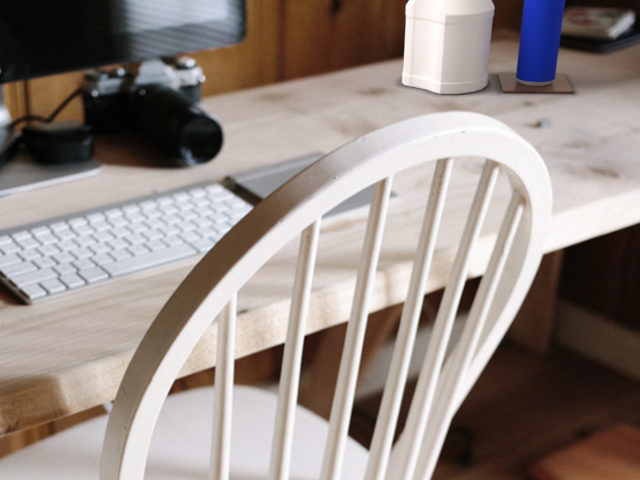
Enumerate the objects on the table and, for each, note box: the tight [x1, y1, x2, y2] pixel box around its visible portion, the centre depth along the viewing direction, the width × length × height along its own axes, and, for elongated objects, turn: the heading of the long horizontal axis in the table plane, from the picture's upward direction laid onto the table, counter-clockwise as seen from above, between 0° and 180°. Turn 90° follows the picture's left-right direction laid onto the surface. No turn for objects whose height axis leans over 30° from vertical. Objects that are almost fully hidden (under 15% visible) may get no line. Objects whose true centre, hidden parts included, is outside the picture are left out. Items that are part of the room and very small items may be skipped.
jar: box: [401, 0, 496, 95], centre depth 136 cm, size 12×10×15 cm
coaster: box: [496, 72, 574, 94], centre depth 139 cm, size 9×9×1 cm
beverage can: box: [515, 0, 566, 86], centre depth 135 cm, size 5×5×15 cm
